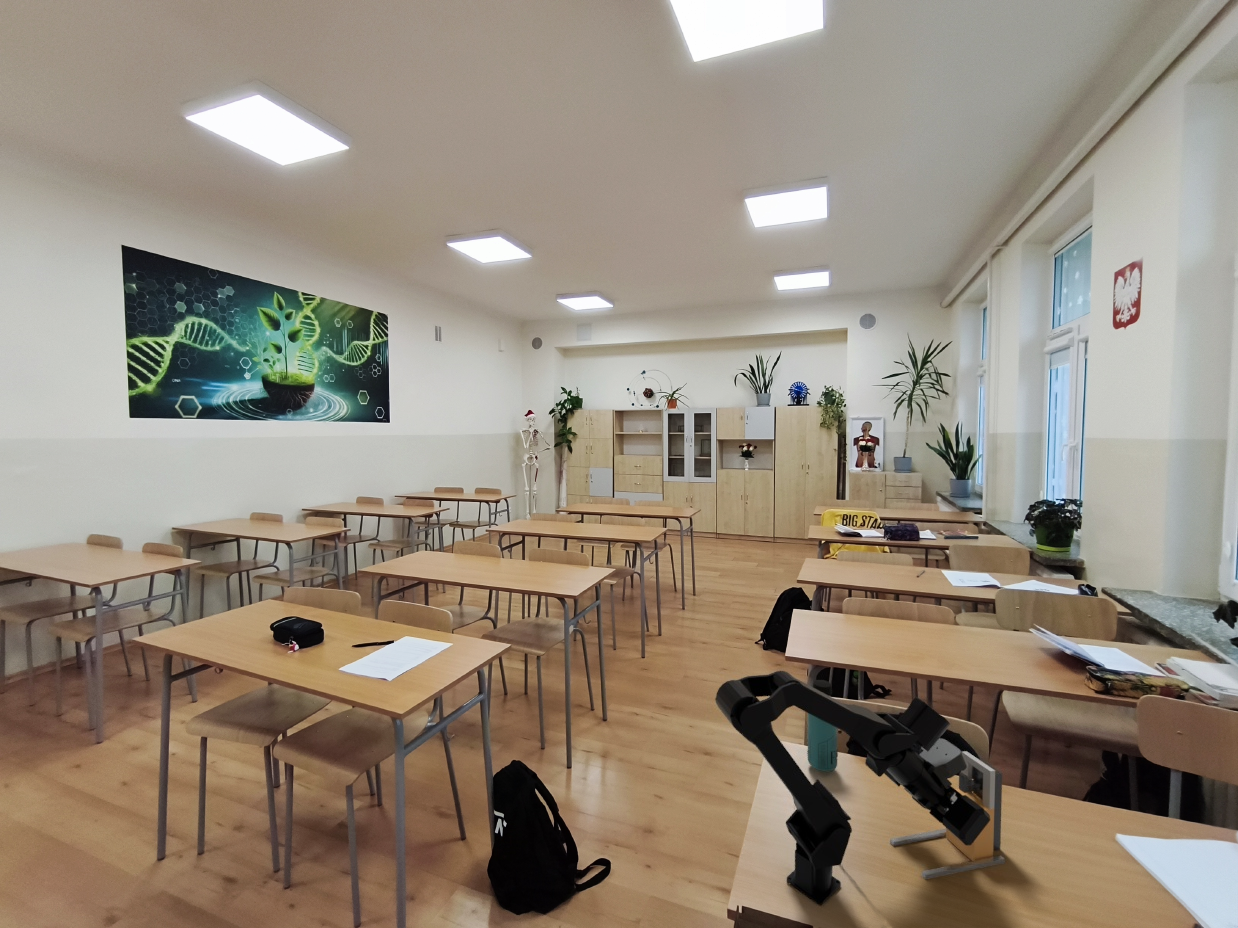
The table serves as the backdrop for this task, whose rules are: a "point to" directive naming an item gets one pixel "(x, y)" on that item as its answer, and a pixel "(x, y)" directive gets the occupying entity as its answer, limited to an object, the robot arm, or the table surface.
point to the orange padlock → (985, 839)
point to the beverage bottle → (822, 737)
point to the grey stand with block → (965, 787)
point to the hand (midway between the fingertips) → (959, 819)
